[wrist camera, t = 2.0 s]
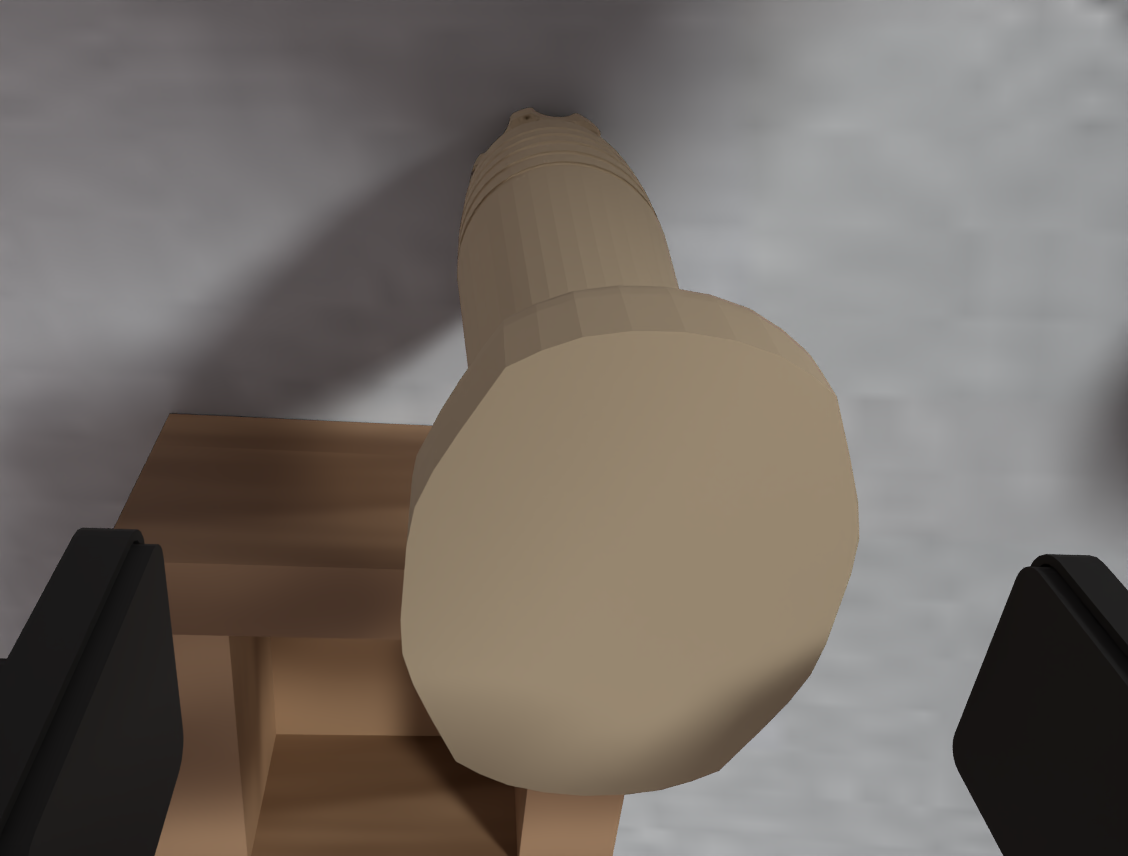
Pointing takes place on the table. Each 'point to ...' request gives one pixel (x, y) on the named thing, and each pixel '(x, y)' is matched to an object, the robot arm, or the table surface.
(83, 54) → the table surface
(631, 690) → the handle
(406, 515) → the block
